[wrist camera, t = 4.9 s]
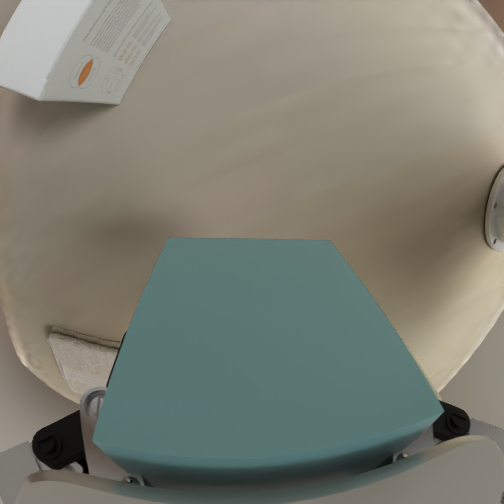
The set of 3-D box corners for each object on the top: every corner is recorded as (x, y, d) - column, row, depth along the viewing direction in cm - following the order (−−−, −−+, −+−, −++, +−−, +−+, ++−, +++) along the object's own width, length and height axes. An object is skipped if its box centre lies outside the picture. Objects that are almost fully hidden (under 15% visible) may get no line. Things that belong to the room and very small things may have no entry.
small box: (118, 4, 12) (58, -51, 2) (173, 20, 14) (138, -51, 4) (68, 87, 15) (-22, 82, 5) (119, 107, 16) (36, 103, 7)
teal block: (330, 240, 10) (444, 411, 3) (305, 351, 13) (345, 491, 6) (168, 238, 10) (92, 441, 3) (182, 353, 13) (168, 503, 6)
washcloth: (49, 320, 25) (38, 337, 22) (190, 346, 28) (189, 368, 25) (72, 379, 30) (66, 395, 27) (188, 402, 33) (187, 420, 30)
